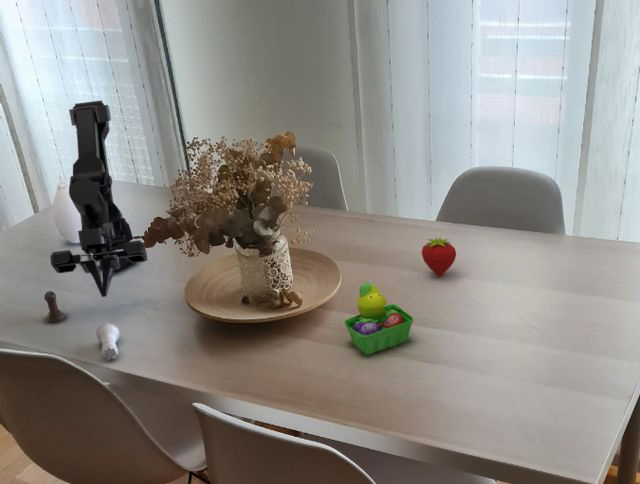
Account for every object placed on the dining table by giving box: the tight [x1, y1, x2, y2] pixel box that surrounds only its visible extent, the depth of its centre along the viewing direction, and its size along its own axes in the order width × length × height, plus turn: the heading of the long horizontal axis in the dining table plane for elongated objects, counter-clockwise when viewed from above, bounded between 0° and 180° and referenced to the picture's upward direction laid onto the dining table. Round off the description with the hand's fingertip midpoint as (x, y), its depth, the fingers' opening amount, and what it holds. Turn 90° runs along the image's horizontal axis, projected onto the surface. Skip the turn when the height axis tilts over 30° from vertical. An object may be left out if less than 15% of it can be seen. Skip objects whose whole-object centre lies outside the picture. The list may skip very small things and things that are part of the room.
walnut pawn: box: [43, 290, 65, 324], centre depth 182 cm, size 3×3×6 cm
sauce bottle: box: [52, 173, 82, 244], centre depth 213 cm, size 8×8×18 cm
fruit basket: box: [343, 282, 414, 356], centre depth 161 cm, size 11×9×11 cm
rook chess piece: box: [95, 323, 120, 361], centre depth 169 cm, size 4×4×8 cm
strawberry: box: [421, 236, 457, 277], centre depth 183 cm, size 6×8×10 cm
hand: (104, 296), depth 176 cm, fingers closed
